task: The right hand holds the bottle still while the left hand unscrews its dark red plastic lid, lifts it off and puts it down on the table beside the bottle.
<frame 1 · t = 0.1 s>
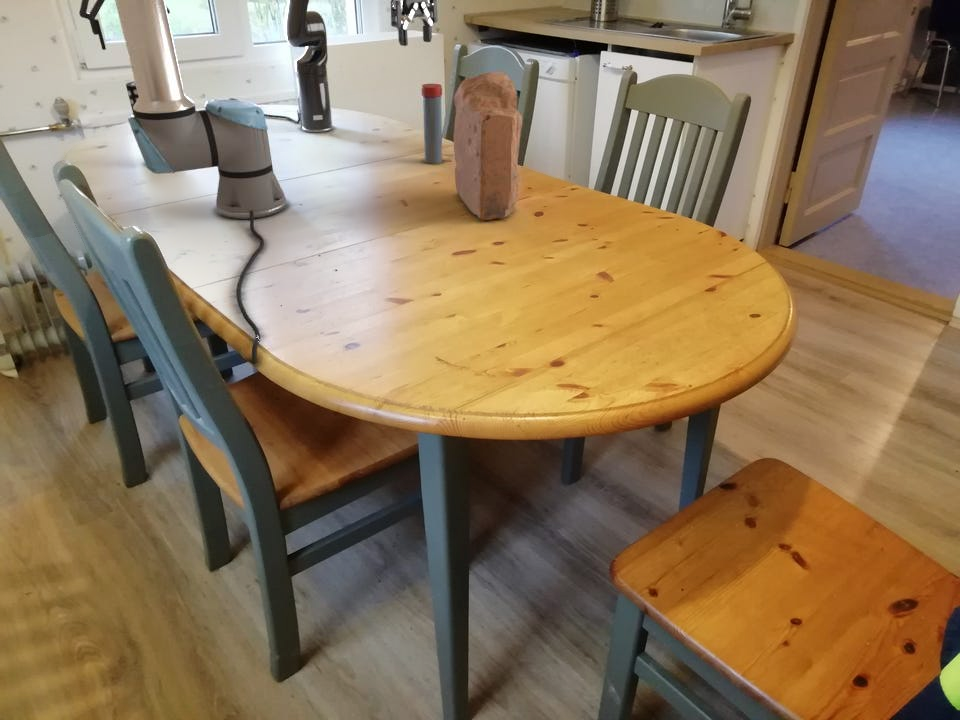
left hand: (133, 47, 174), 28 cm above the table, tool pointing down, fingers open, 13 cm apart
right hand: (415, 43, 177), 29 cm above the table, tool pointing down, fingers open, 8 cm apart
lid: (431, 87, 179), point 19 cm above the table, screwed on, not yet turned
bottle: (433, 161, 190), on the table
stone: (487, 204, 161), on the table
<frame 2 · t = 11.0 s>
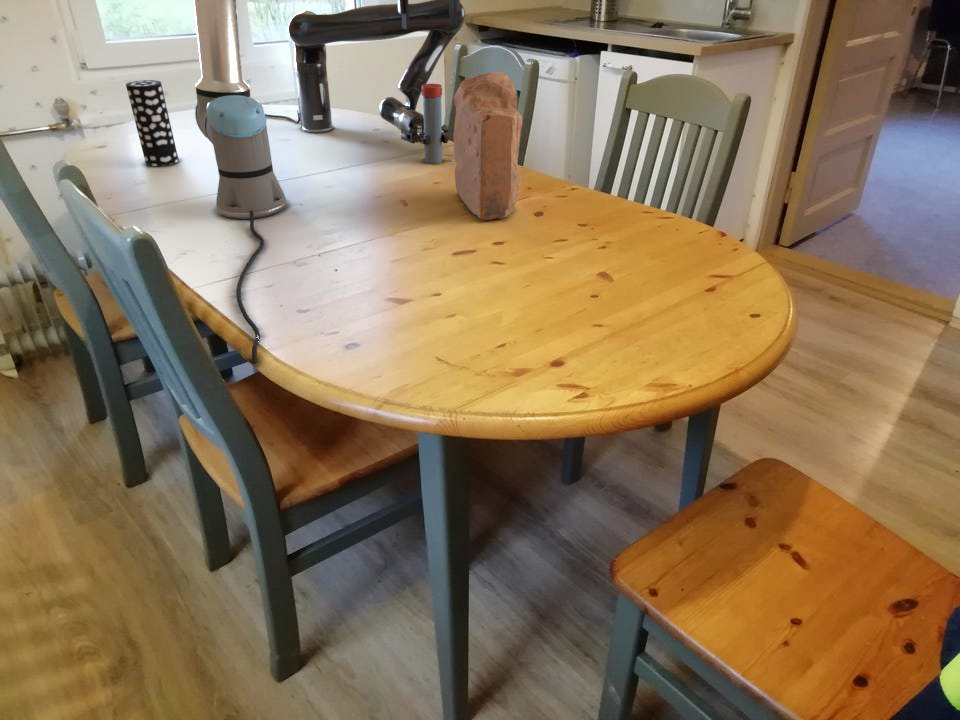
left hand: (429, 27, 172), 34 cm above the table, tool pointing down, fingers open, 12 cm apart
right hand: (436, 140, 184), 6 cm above the table, tool horizontal, fingers closed on bottle, 5 cm apart
bottle: (433, 161, 190), on the table, touching right hand
everything else where it was.
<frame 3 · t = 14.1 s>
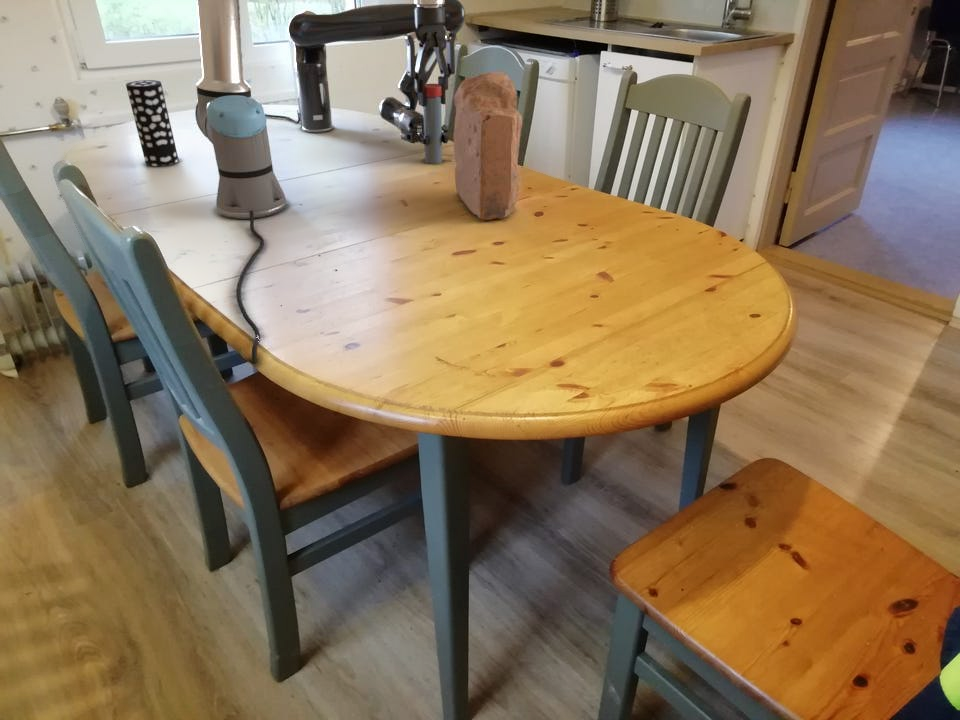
left hand: (432, 104, 182), 15 cm above the table, tool pointing down, fingers closed on lid, 5 cm apart
right hand: (436, 140, 184), 6 cm above the table, tool horizontal, fingers closed on bottle, 5 cm apart
lid: (431, 87, 179), point 19 cm above the table, screwed on, not yet turned, touching left hand
bottle: (433, 161, 190), on the table, touching right hand
everything else where it was.
when the left hand's fingers open (15 cm above the table, at t = 15.4 s): lid stays where it is, point 20 cm above the table.
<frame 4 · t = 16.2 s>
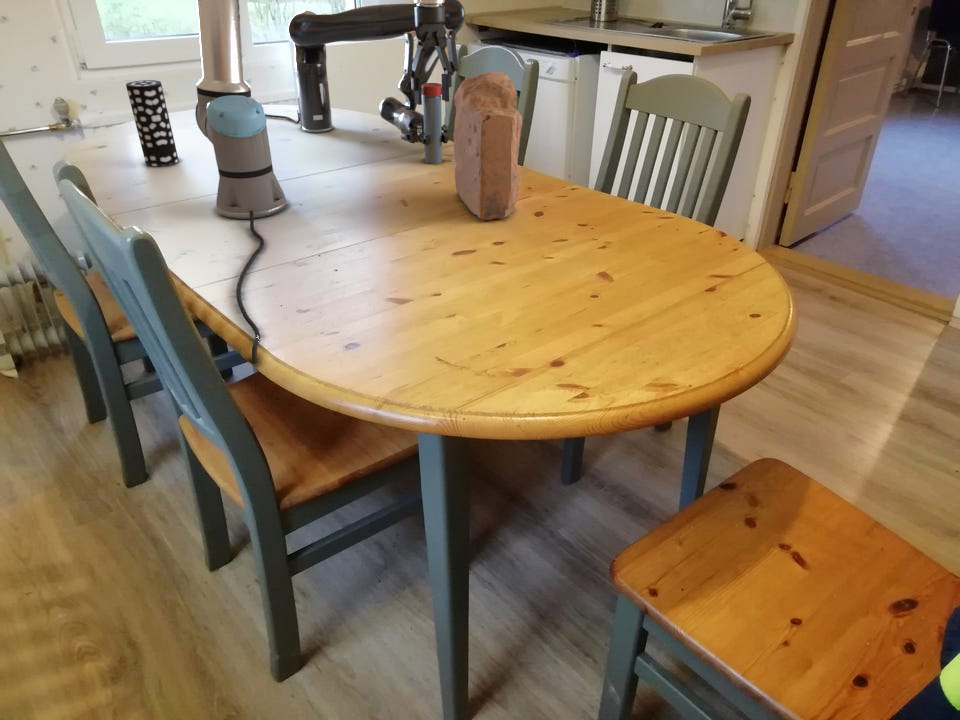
left hand: (432, 102, 181), 16 cm above the table, tool pointing down, fingers open, 7 cm apart
right hand: (436, 140, 184), 6 cm above the table, tool horizontal, fingers closed on bottle, 5 cm apart
lid: (431, 86, 179), point 20 cm above the table, turned 81° so far, risen 0.2 cm, still on its thread
bottle: (433, 161, 190), on the table, touching right hand
everything else where it was.
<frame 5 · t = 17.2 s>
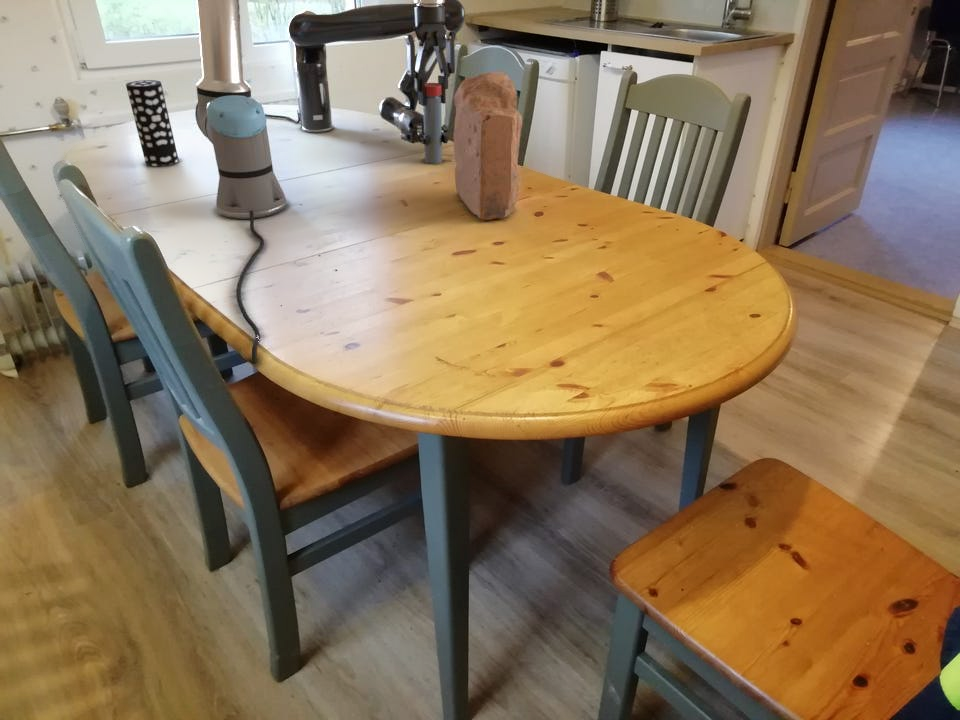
left hand: (432, 103, 182), 15 cm above the table, tool pointing down, fingers closed on lid, 5 cm apart
right hand: (436, 140, 184), 6 cm above the table, tool horizontal, fingers closed on bottle, 5 cm apart
lid: (431, 86, 179), point 20 cm above the table, turned 81° so far, risen 0.2 cm, still on its thread, touching left hand
bottle: (433, 161, 190), on the table, touching right hand
everything else where it was.
when the left hand's fingers open (0 cm above the table, at t = 25.8 s): lid drops 2 cm, point 2 cm above the table.
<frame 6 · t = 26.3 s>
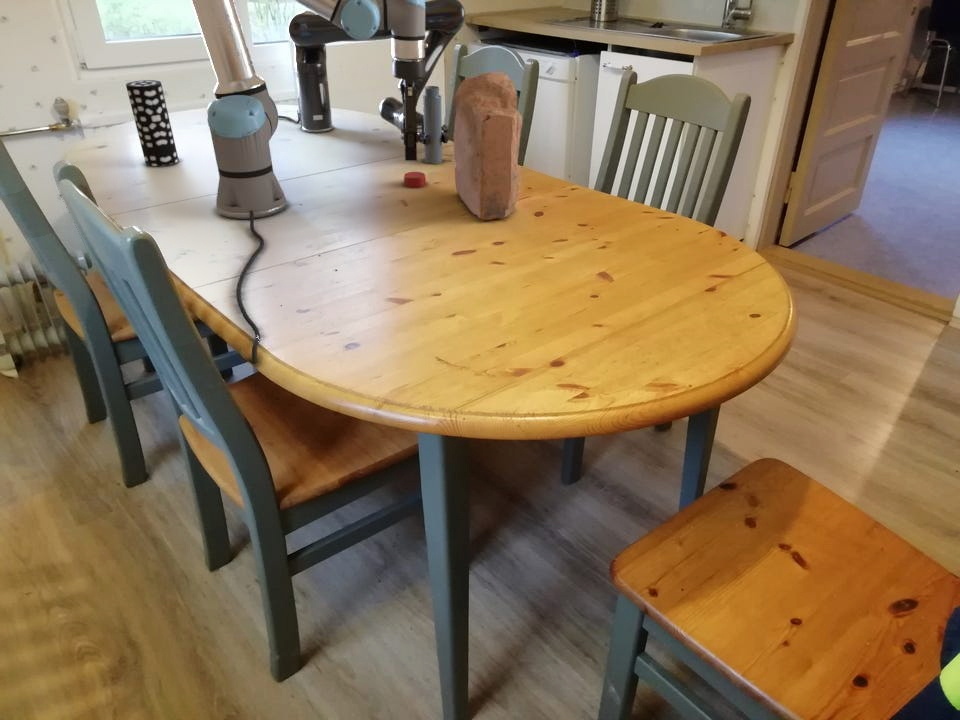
left hand: (410, 152, 169), 8 cm above the table, tool pointing down, fingers open, 13 cm apart
right hand: (436, 140, 184), 6 cm above the table, tool horizontal, fingers closed on bottle, 5 cm apart
lid: (414, 176, 172), point 2 cm above the table, off its thread
bottle: (433, 161, 190), on the table, touching right hand
everything else where it was.
when the right hand's fingers open (6 cm above the table, at t = 26.4 s): bottle stays where it is, on the table.
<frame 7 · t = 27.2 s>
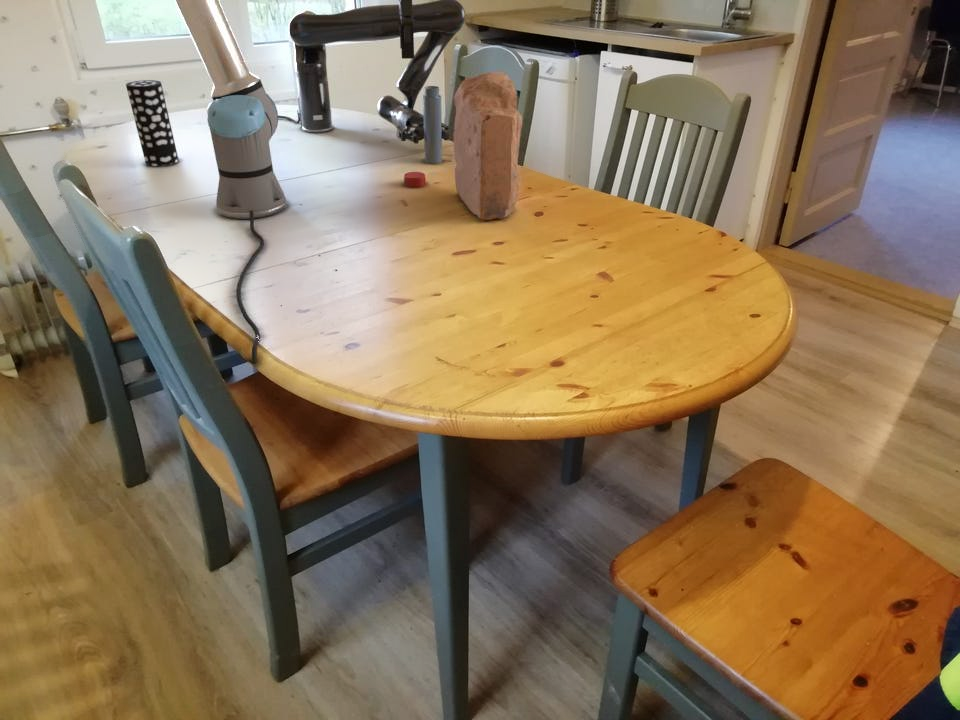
left hand: (407, 53, 157), 30 cm above the table, tool pointing down, fingers open, 13 cm apart
right hand: (432, 138, 186), 6 cm above the table, tool horizontal, fingers open, 8 cm apart
bottle: (433, 161, 190), on the table
everything else where it was.
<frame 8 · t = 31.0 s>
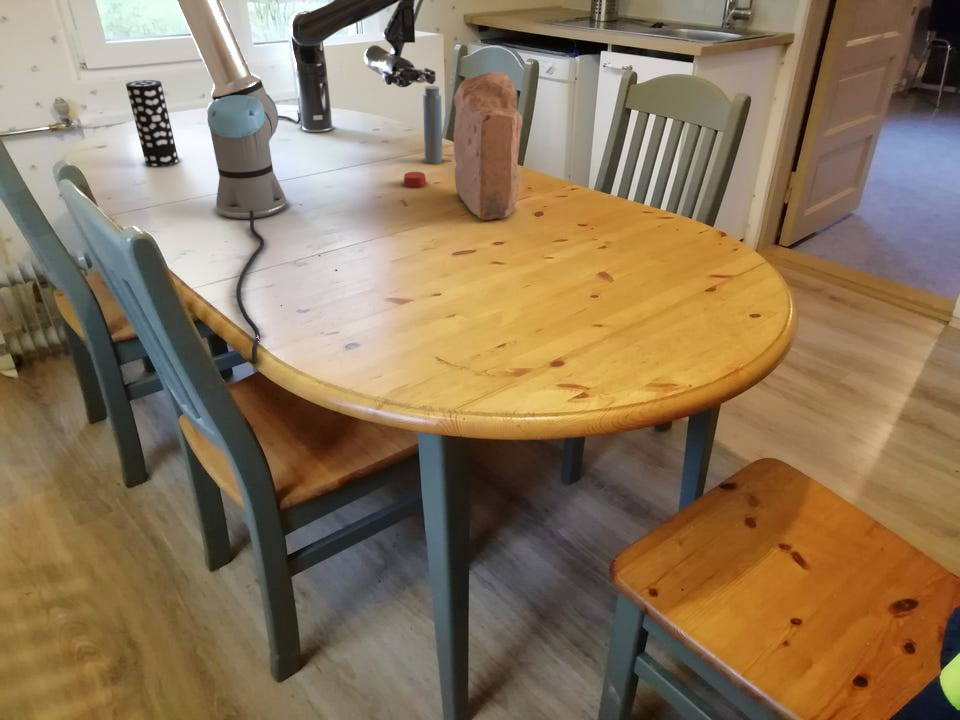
left hand: (407, 38, 155), 34 cm above the table, tool pointing down, fingers open, 13 cm apart
right hand: (417, 81, 188), 19 cm above the table, tool horizontal, fingers open, 8 cm apart
nothing on the table moved.
at the end: lid came off its thread; lid point 2.1 cm above the table; the left hand is holding nothing; the right hand is holding nothing; bottle tilted 0°; bottle moved 0.0 cm from its start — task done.
